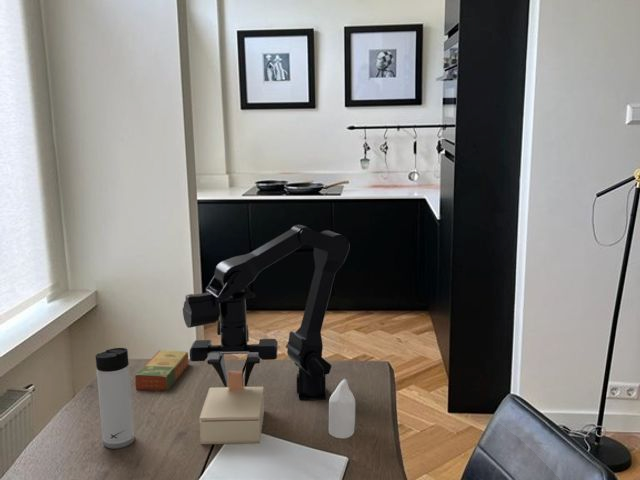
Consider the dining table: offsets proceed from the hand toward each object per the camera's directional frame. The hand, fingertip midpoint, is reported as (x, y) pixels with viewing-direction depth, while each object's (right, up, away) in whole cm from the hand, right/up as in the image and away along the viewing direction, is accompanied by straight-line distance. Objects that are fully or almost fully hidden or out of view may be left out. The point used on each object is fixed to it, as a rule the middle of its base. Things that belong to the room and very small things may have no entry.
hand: (236, 386), depth 140 cm
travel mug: (-23, -9, -10) cm, 26 cm away
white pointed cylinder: (+23, -8, -7) cm, 26 cm away
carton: (-21, -3, +22) cm, 31 cm away
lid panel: (0, -3, -6) cm, 6 cm away
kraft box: (0, -8, -5) cm, 9 cm away
